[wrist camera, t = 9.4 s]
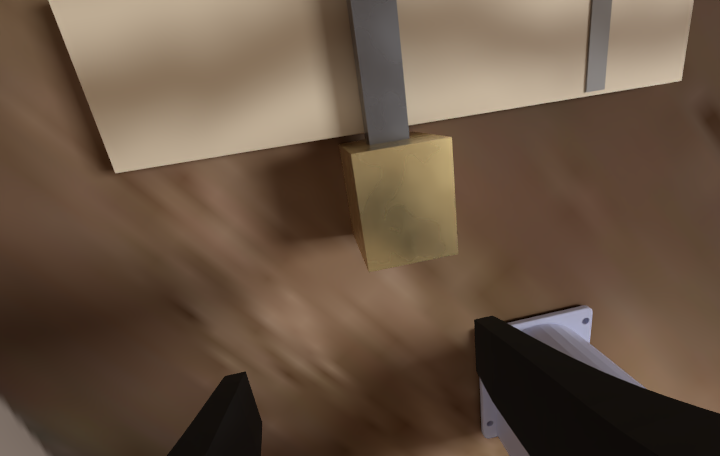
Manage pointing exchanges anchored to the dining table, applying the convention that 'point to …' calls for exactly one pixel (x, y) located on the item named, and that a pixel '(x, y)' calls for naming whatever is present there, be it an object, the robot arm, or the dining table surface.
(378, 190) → the marking gauge
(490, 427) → the robot arm
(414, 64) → the maple board
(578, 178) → the dining table surface
